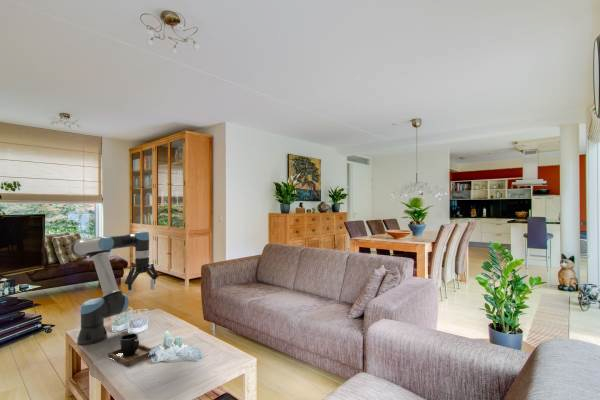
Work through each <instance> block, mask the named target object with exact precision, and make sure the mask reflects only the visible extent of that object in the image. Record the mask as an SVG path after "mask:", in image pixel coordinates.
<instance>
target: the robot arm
mask: <svg viewBox="0 0 600 400" xmlns="http://www.w3.org/2000/svg"><path fill="white" fill-rule="evenodd" d="M131 247H133V248H134V253H135V254H134V257H135V259H134V264H135V266H130V267H129V272H128V274H127V276H126V279H125V281H124V284H125V285H127V289H128V291H129V293H128V294H129V295H127V294H126V293H123V291H122V290H121V289H119V287H118V284H117V280H116V278H115V277H116V276H115V275H114V271H113V267H112V265H111V261H110V258H109V256H110V255H111V251H112V250H117V249H122V248H131ZM69 250H70V251H69V252H70V253H71V254H72V255H74V256H76V257H80V258H81V257H89V259H90V261H92V262H93V264H94V268H95V271H96V273H97V277H98V281H99V284H100V287H101V290H102V294H103V295H102V296H101V297H96V298H92V299H89V300H86V301H84V302H82V304H81V306H80V311H79V312H80V330H79V332H78V336H77V340H76V341H77V344H78V345H80V346H81V345H85V346H86V345H87V346H88V345H93V344H97V343H99V342H102V341H104V340H106V339H107V337H108V332H107V329H106V327H105V324H104V320H105V319H109V318H110V317H114V316H118V315H120V314H122V313H125V312H126V311H127V309H128V308H129V305H130V303H129V302H130V300H129V299H130V298H129V296H130V297H134V282H135V280H136V279H137V277H138V276H139V275H140V274H143V273H146V274H147V275H148V276H149V277H150V290H151V291H154V290H155V284H156V280H157V279H158V278H159V274H158V272H157V270H156V268H155V265H154V263H151V262H150V233H149V231H145V230H143V231H136V232H135V233H126V234H120V235H111V236H97V237H96V236H95V237H89V238H88V237H87V238H80V239H77V240H76V239H75V240H74V241H73V242H72V243H71V244H70V247H69Z"/></svg>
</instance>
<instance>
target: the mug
mask: <svg viewBox="0 0 600 400" xmlns="http://www.w3.org/2000/svg"><path fill="white" fill-rule="evenodd" d="M119 340H120V348H121V350H122V353H123V356H125V357H127V356H132V355H134V354H135V353H136V351H137V349H138V346H139V344H140V340H139V339H138V334H137V333H127V334H124V335H122V336H121V337H120V339H119Z"/></svg>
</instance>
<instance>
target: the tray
mask: <svg viewBox="0 0 600 400" xmlns="http://www.w3.org/2000/svg"><path fill="white" fill-rule="evenodd" d="M151 349H153V348H152V347H149V346H146V345H144V344H141V343H139V346H138V349H137V351H136V353H135V354H134V355H132V356H127V357H125V356H123V355H122V356H121V357H120V356H117V355H116V354H118V353H122V350H121V347H120V348H118V349H115V350H113V351H111V352H108V353H107V358H108V357H109V358H112V359H114V360H115V361H114V360H113V361H114V362H116V361H117V362H116V363H119V364H121V365H124V366H126V367H131V366H133V365H135V364H136V363H139V362H141V361H143V360H145V359H148V358H149V357H148V355H149V352H150V350H151ZM109 358H108V359H109Z"/></svg>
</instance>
